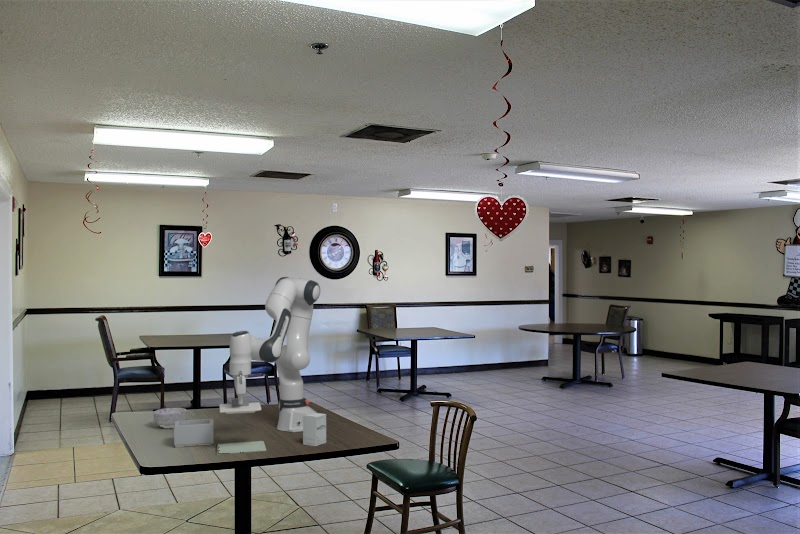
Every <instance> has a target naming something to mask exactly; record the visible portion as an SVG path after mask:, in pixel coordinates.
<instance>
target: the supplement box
mask: <svg viewBox="0 0 800 534" xmlns="http://www.w3.org/2000/svg"><path fill="white" fill-rule="evenodd" d="M326 443H327V413H322V412H321V413H320V412H317V413H311V414H307V415H303V431H302V445H304V446H305V445H306V446H309V447H317V446H321V445H324V444H326Z"/></svg>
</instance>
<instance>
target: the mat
mask: <svg viewBox="0 0 800 534" xmlns="http://www.w3.org/2000/svg"><path fill="white" fill-rule="evenodd" d="M217 444H218V446H219V447H220V448H219V449H218V450H220V451H219V453H230V454H240V452H241V454H242V452H244V453H254V452H266V451H267V448H266V445H265V442H264V440H257V441H243V442H229V443H217Z"/></svg>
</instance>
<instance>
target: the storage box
mask: <svg viewBox="0 0 800 534" xmlns="http://www.w3.org/2000/svg"><path fill="white" fill-rule="evenodd" d="M173 430H174V434H173V438H174V440H173V441H174V442H173V443H174V444H173V445H176V444H215V443H214V441H215V440H214V418H202V419H188V420H182V421H176V422H175V426H174V428H173Z"/></svg>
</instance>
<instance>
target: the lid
mask: <svg viewBox="0 0 800 534" xmlns="http://www.w3.org/2000/svg"><path fill="white" fill-rule="evenodd" d="M230 400H231V403H220V404H219V413H225V414H226V415H229V414H230V415H232V414H235V415H236V414H250V413H251V414H252V413H254V414H255V413H256V412H257V411H262V406H261V404H260V402H250V399H249V397H243V404H238V397H236V398H234V397H233V398H231V399H230Z"/></svg>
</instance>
